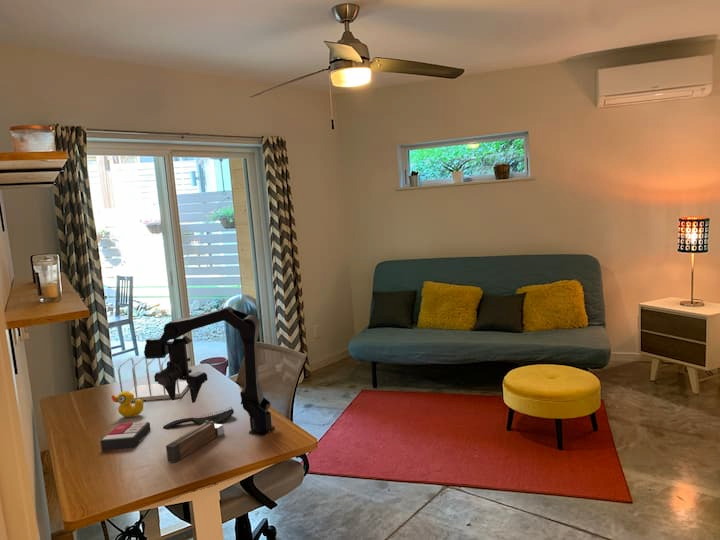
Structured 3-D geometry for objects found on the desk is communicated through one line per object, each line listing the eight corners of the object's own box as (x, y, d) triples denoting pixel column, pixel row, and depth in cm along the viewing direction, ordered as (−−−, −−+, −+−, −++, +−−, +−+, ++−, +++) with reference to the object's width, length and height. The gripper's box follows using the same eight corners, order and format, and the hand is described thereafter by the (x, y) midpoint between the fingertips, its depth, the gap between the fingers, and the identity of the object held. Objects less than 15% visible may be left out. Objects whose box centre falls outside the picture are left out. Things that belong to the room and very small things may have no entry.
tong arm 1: (211, 436, 178) (209, 420, 177) (171, 461, 161) (169, 444, 161) (208, 435, 179) (206, 420, 178) (167, 461, 162) (165, 444, 161)
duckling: (111, 420, 199) (108, 395, 198) (117, 414, 205) (114, 390, 204) (141, 418, 200) (138, 392, 198) (146, 412, 205) (143, 388, 204)
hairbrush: (163, 417, 193) (233, 403, 198) (165, 426, 193) (235, 413, 198) (160, 426, 185) (233, 411, 190) (162, 435, 185) (234, 421, 190)
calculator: (149, 420, 188) (133, 436, 173) (151, 431, 189) (134, 448, 174) (118, 422, 188) (99, 438, 173) (120, 434, 188) (101, 451, 173)
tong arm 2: (216, 436, 177) (214, 421, 176) (175, 462, 161) (173, 445, 160) (212, 436, 178) (211, 420, 177) (171, 461, 161) (169, 444, 160)
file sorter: (192, 384, 236) (188, 350, 234) (181, 398, 219) (177, 362, 217) (135, 389, 235) (131, 355, 233) (119, 403, 218) (115, 367, 216)
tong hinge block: (224, 433, 180) (223, 424, 180) (218, 437, 177) (217, 428, 177) (213, 432, 182) (212, 423, 182) (207, 435, 179) (207, 426, 179)
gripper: (139, 362, 175) (144, 407, 176) (182, 365, 167) (187, 413, 169) (164, 352, 185) (169, 395, 186) (206, 355, 177) (211, 400, 179)
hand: (183, 401), depth 180 cm, fingers open, 9 cm apart
